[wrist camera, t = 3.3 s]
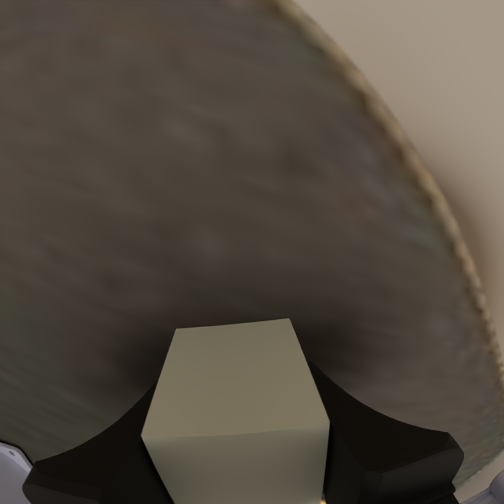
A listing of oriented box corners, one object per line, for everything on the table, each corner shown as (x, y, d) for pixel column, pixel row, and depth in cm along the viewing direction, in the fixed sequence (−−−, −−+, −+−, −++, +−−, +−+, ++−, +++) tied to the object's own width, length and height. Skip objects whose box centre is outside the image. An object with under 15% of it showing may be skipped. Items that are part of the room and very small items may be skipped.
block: (195, 411, 13) (183, 518, 7) (176, 328, 12) (140, 435, 6) (292, 403, 13) (319, 507, 7) (289, 318, 12) (329, 421, 6)
